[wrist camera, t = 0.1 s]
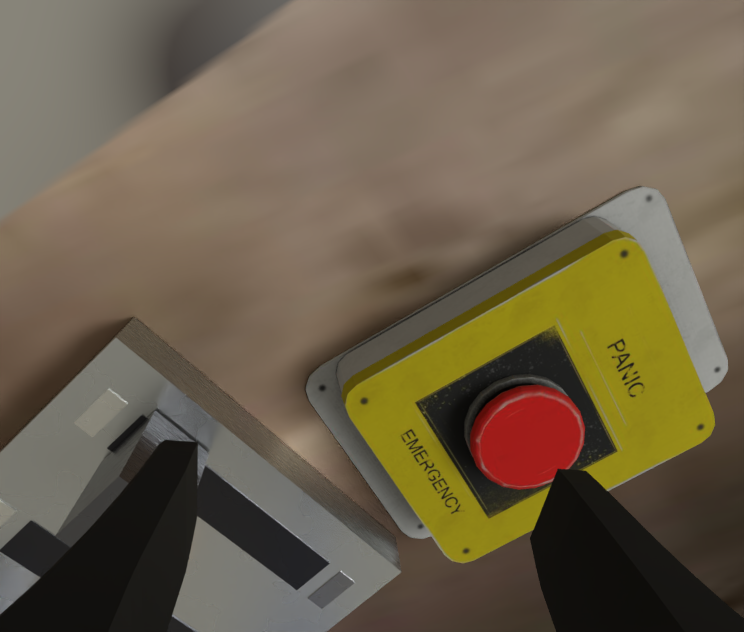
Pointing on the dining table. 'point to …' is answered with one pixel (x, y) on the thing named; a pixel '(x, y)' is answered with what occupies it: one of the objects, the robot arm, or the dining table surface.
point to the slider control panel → (214, 496)
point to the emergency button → (531, 379)
